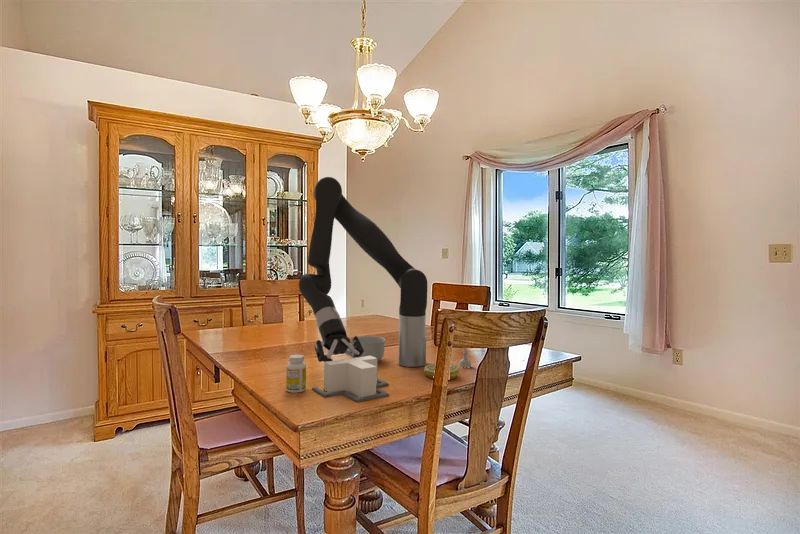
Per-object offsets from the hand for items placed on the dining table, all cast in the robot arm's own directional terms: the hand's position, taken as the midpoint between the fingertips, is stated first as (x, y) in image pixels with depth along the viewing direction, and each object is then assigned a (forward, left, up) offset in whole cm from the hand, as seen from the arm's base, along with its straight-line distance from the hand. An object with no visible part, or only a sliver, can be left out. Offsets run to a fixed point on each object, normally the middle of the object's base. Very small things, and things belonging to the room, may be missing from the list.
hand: (347, 369), depth 130 cm
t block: (-3, +6, -5) cm, 8 cm away
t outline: (-3, +5, -5) cm, 7 cm away
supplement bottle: (+14, +4, -5) cm, 15 cm away
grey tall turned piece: (-40, -20, -5) cm, 45 cm away
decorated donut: (-29, -8, -5) cm, 31 cm away
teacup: (-6, -30, -5) cm, 31 cm away
